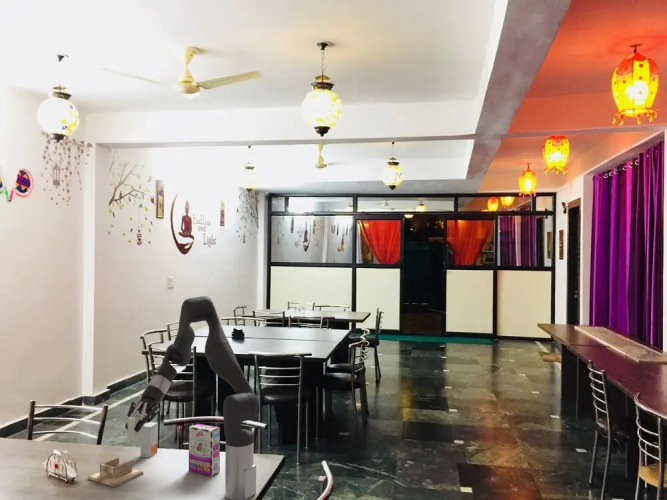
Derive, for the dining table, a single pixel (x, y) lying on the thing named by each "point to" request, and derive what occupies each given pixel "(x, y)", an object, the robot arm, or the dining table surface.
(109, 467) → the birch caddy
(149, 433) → the skincare box
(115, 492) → the dining table surface
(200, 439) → the candy bar box
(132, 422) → the sage peg
